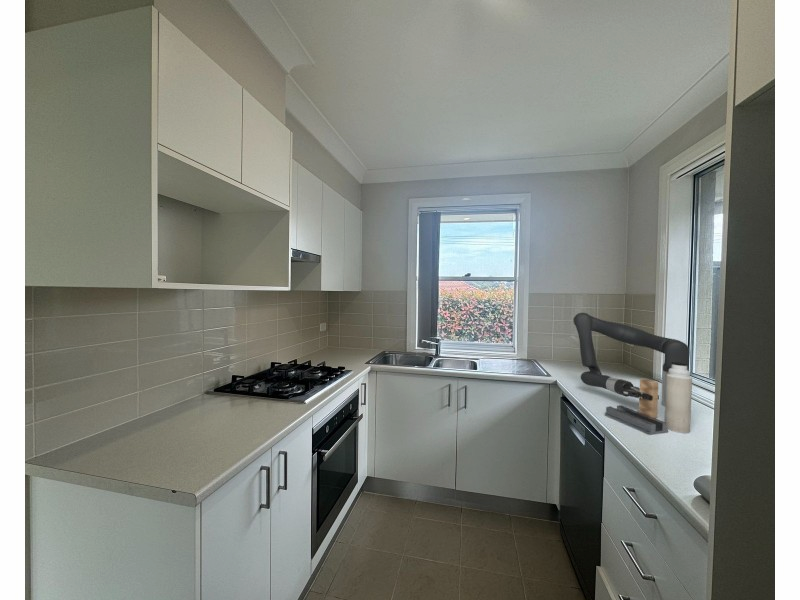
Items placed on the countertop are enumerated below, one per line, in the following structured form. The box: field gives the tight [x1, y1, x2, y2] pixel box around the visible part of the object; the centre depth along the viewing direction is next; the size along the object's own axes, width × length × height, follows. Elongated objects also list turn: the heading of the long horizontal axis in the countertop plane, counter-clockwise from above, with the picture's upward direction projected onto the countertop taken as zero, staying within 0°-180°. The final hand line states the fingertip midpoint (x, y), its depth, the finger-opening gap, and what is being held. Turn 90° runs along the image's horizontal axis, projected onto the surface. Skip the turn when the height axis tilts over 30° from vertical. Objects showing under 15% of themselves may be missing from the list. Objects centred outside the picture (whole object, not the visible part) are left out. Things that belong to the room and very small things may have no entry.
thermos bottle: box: [664, 361, 693, 434], centre depth 130 cm, size 8×8×28 cm
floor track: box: [604, 404, 669, 436], centre depth 135 cm, size 20×10×4 cm, turn 15°
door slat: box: [638, 378, 659, 419], centre depth 143 cm, size 6×3×16 cm, turn 15°
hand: (655, 397), depth 140 cm, fingers closed on door slat, 3 cm apart
